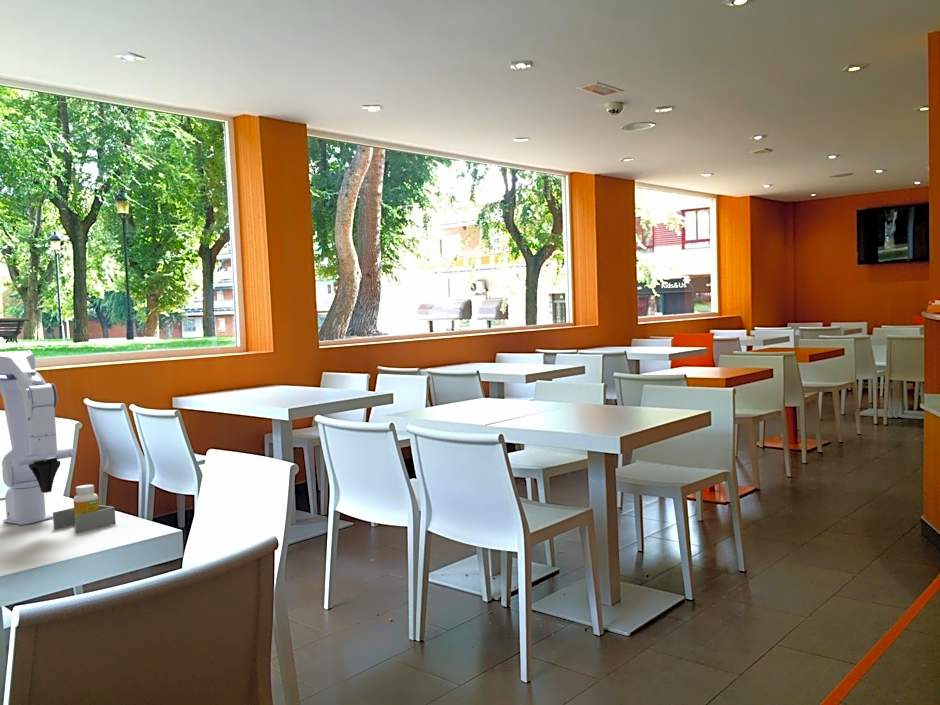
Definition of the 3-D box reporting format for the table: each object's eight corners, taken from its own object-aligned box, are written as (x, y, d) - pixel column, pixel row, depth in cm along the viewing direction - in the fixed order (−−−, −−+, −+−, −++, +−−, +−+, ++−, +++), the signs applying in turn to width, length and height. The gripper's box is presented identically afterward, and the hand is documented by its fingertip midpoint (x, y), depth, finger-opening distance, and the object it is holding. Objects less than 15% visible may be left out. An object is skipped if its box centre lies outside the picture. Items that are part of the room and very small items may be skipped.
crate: (53, 528, 193) (52, 512, 193) (92, 519, 201) (91, 503, 201) (76, 533, 188) (75, 516, 187) (115, 523, 196) (114, 507, 196)
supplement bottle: (91, 528, 192) (88, 488, 191) (70, 528, 192) (67, 488, 192) (104, 522, 197) (101, 483, 197) (84, 523, 198) (81, 484, 197)
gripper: (20, 440, 182) (24, 499, 182) (81, 431, 194) (84, 487, 195) (4, 439, 186) (8, 497, 186) (64, 430, 198) (68, 485, 198)
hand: (46, 491), depth 191 cm, fingers closed
